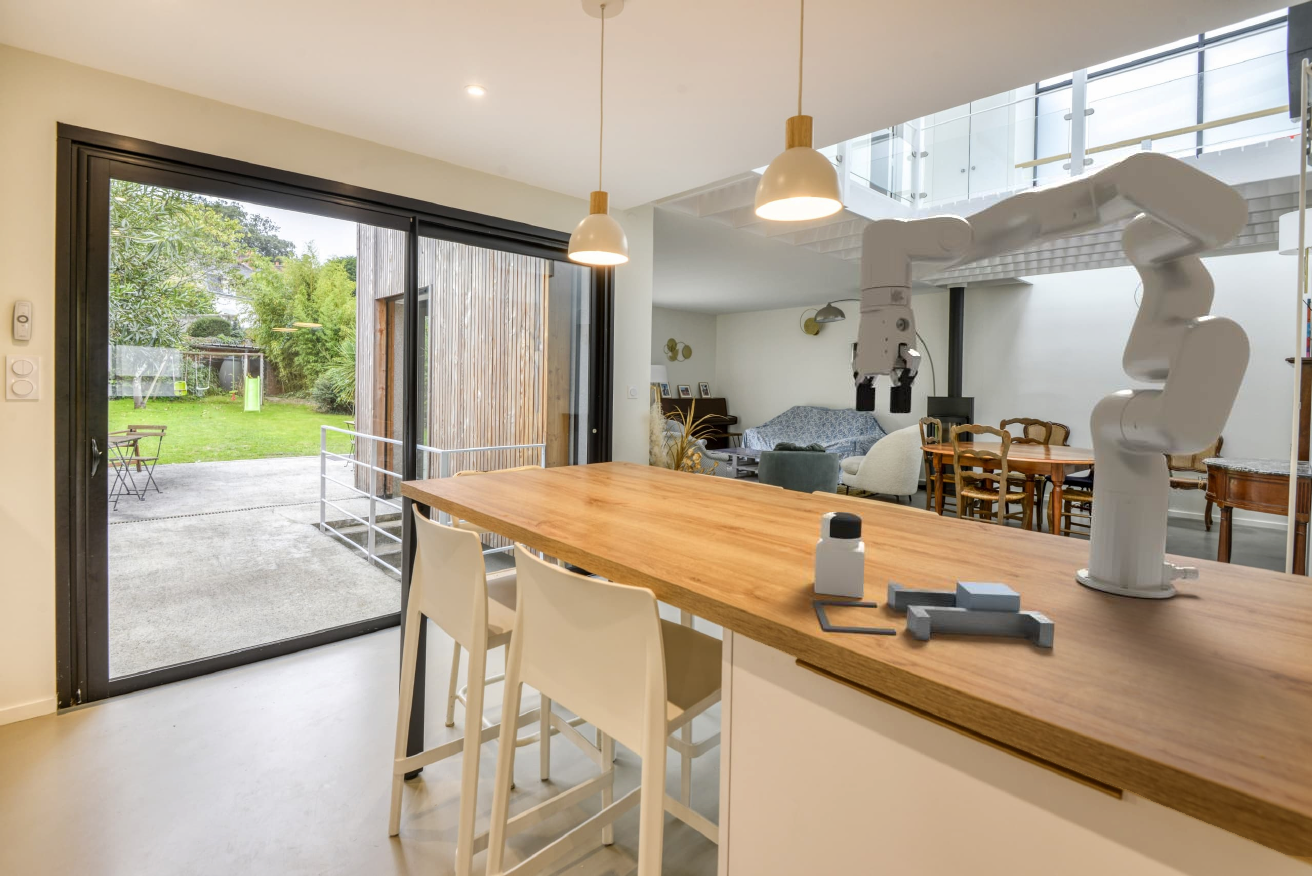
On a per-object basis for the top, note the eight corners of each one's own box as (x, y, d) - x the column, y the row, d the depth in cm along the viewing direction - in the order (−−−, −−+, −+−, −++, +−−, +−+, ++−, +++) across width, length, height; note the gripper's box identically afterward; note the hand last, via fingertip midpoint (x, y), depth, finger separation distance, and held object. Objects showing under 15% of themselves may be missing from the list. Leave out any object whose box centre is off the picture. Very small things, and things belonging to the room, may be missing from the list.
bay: (875, 604, 87) (875, 602, 87) (896, 634, 76) (896, 632, 76) (812, 601, 88) (812, 599, 88) (823, 630, 78) (824, 628, 78)
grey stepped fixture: (1002, 607, 86) (1003, 587, 86) (1053, 647, 73) (1054, 623, 73) (887, 601, 88) (887, 582, 88) (915, 639, 75) (916, 616, 75)
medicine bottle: (863, 584, 96) (865, 511, 96) (863, 599, 90) (865, 520, 89) (817, 580, 99) (819, 508, 98) (814, 593, 92) (816, 516, 91)
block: (1001, 618, 82) (1002, 583, 82) (1018, 633, 77) (1020, 595, 77) (955, 616, 83) (956, 581, 83) (969, 630, 78) (971, 593, 78)
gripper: (943, 294, 86) (938, 414, 87) (876, 311, 103) (873, 410, 104) (896, 292, 84) (892, 414, 86) (836, 309, 101) (833, 410, 103)
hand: (881, 412), depth 95 cm, fingers open, 9 cm apart
